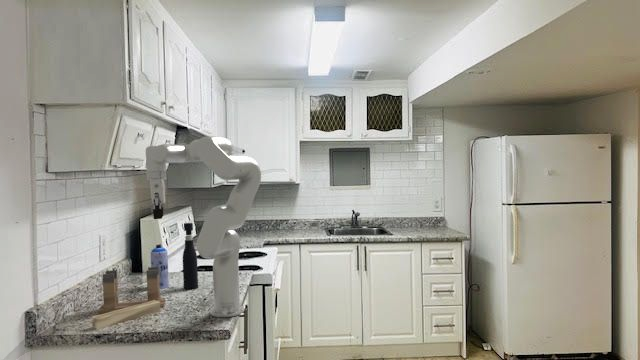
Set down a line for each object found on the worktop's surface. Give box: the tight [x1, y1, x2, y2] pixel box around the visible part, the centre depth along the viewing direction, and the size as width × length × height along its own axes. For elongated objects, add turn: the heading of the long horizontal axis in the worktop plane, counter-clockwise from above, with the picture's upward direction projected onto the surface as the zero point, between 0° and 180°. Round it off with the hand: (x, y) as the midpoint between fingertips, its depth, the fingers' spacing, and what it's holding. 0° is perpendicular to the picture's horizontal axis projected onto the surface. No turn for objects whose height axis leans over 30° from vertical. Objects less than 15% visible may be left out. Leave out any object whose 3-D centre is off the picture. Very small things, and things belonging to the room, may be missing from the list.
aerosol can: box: [150, 243, 170, 290], centre depth 211 cm, size 8×8×20 cm
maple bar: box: [91, 300, 161, 330], centre depth 167 cm, size 4×24×4 cm, turn 140°
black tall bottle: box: [182, 222, 199, 291], centre depth 207 cm, size 6×6×30 cm
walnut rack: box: [97, 266, 166, 315], centre depth 180 cm, size 8×24×15 cm, turn 105°
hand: (158, 217), depth 184 cm, fingers open, 9 cm apart
